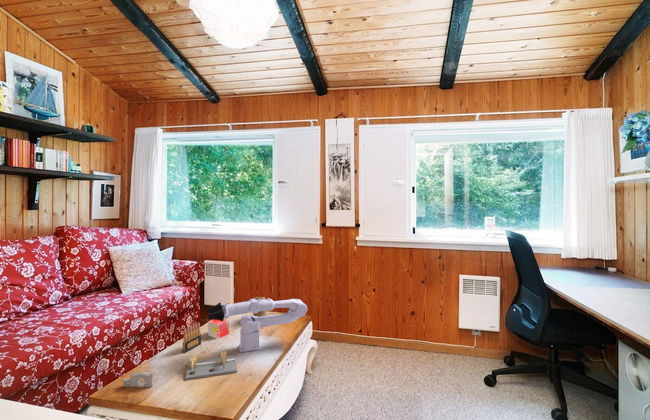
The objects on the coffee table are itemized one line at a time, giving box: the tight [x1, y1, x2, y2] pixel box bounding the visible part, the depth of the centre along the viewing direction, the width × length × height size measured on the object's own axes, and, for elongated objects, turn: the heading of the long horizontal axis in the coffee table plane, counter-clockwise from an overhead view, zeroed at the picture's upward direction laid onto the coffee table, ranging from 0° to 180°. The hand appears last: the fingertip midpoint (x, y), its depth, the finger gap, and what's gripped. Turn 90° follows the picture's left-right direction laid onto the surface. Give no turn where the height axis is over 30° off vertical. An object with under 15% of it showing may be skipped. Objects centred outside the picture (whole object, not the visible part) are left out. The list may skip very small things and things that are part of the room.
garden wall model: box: [122, 371, 156, 388], centre depth 130 cm, size 12×2×6 cm, turn 91°
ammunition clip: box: [181, 321, 202, 354], centre depth 163 cm, size 11×2×12 cm, turn 157°
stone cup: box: [252, 296, 268, 317], centre depth 198 cm, size 15×12×15 cm
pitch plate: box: [185, 354, 238, 381], centre depth 144 cm, size 21×14×5 cm, turn 109°
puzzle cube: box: [207, 318, 230, 340], centre depth 179 cm, size 8×8×8 cm
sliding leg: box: [220, 351, 227, 368], centre depth 146 cm, size 2×8×3 cm, turn 19°
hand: (207, 314), depth 155 cm, fingers open, 7 cm apart
